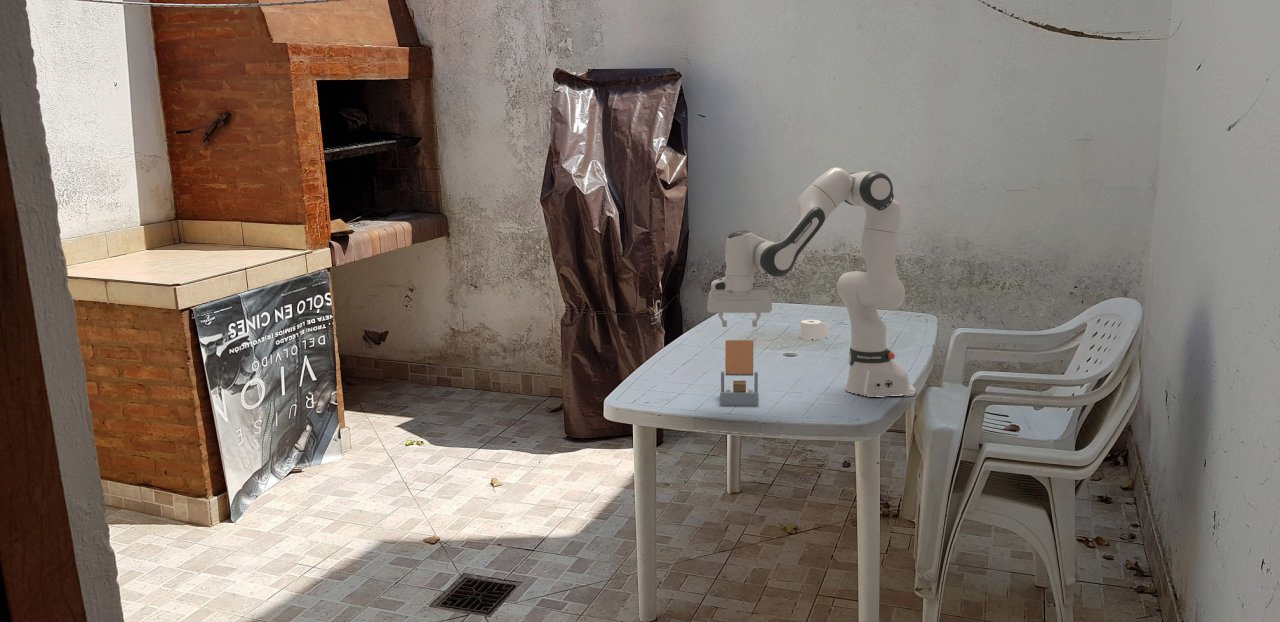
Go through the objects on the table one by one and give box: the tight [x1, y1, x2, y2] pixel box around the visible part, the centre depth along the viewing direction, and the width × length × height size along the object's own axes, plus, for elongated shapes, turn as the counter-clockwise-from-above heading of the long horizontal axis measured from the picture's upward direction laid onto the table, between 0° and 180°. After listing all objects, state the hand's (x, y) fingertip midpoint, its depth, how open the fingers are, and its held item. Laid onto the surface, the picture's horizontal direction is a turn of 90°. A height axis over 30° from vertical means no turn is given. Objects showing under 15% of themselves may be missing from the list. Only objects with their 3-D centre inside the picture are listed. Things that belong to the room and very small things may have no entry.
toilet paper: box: [800, 319, 830, 339], centre depth 400 cm, size 8×11×7 cm
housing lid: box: [724, 339, 754, 377], centre depth 317 cm, size 9×12×1 cm
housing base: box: [719, 370, 759, 407], centre depth 314 cm, size 12×11×8 cm
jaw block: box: [732, 380, 747, 393], centre depth 312 cm, size 4×4×5 cm
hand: (739, 326), depth 308 cm, fingers open, 8 cm apart
